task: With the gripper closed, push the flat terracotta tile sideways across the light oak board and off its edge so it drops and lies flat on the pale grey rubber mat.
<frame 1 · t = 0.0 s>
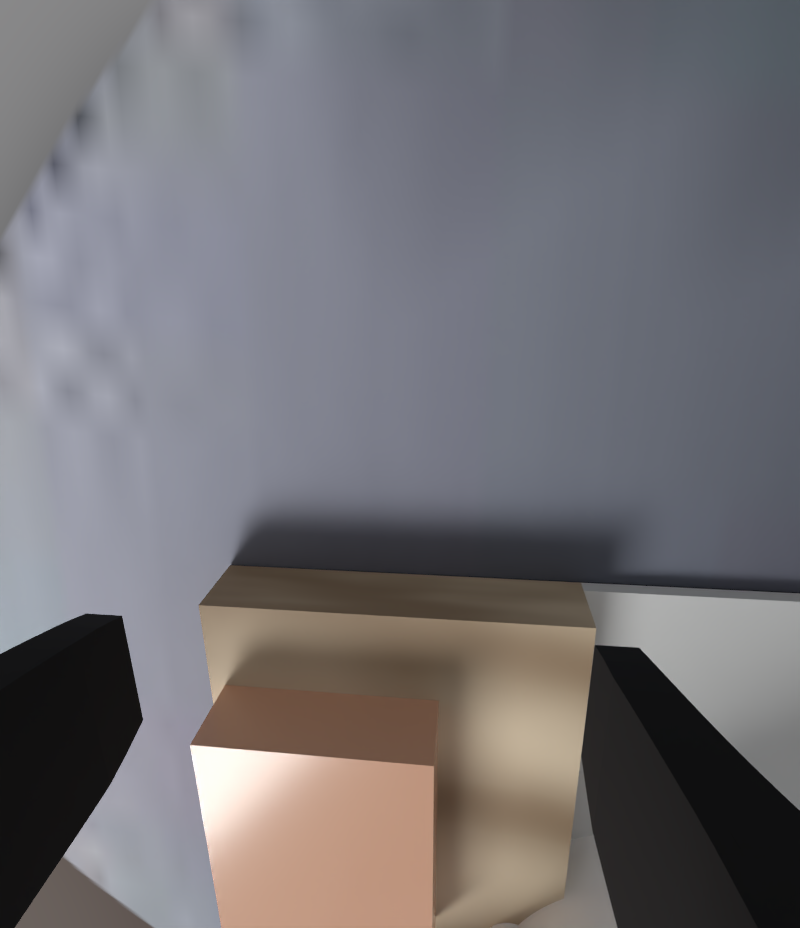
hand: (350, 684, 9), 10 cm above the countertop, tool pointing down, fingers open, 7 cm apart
mat: (796, 789, 21), on the countertop
board: (401, 755, 22), on the countertop
tile: (337, 808, 20), point 2 cm above the countertop, touching board
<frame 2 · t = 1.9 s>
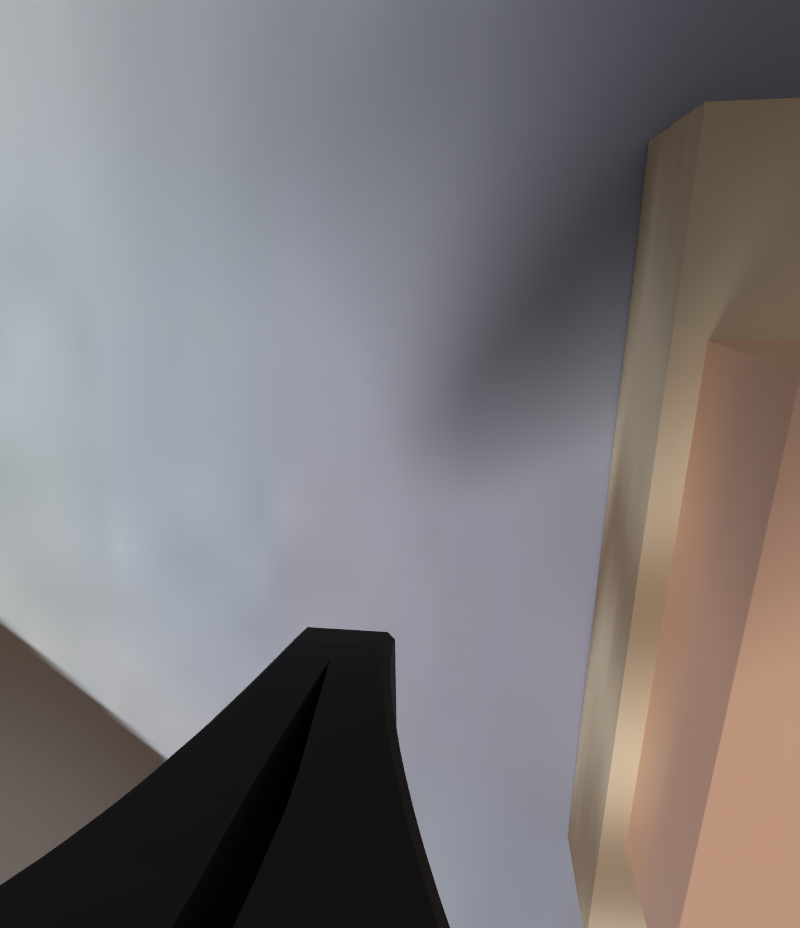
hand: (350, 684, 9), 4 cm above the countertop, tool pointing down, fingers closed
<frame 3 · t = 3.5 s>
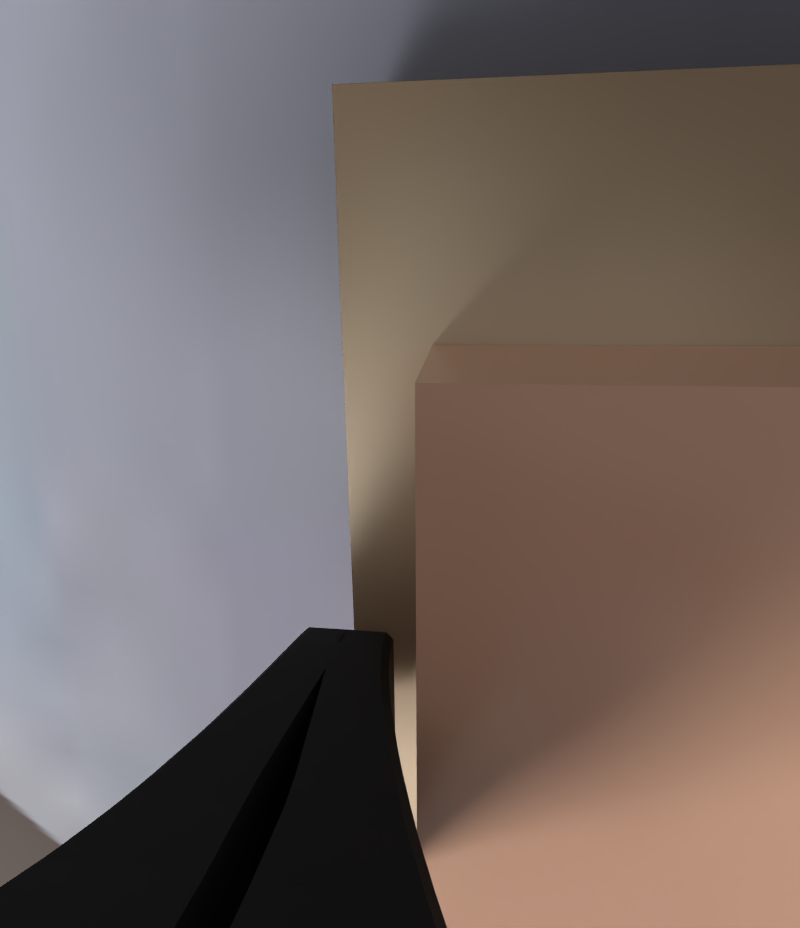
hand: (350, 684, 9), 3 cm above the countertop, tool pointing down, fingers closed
board: (687, 591, 11), on the countertop
tile: (658, 674, 9), point 3 cm above the countertop, touching gripper
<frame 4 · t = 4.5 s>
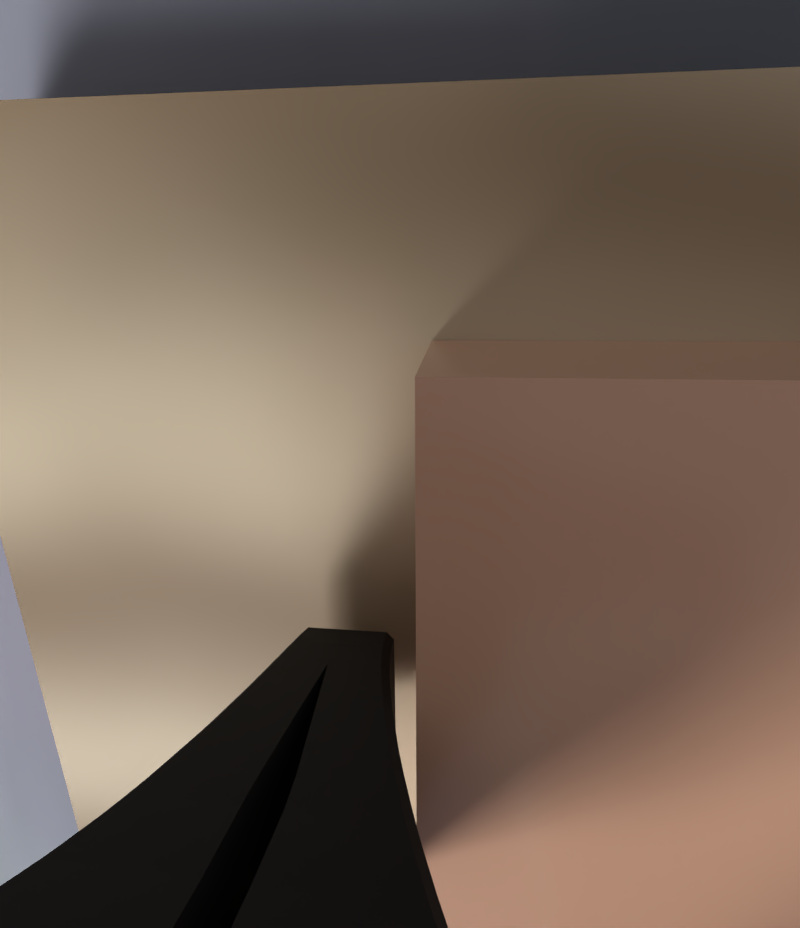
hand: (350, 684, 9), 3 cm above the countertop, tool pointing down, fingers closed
board: (385, 576, 12), on the countertop
tile: (657, 670, 9), point 2 cm above the countertop, touching board, gripper
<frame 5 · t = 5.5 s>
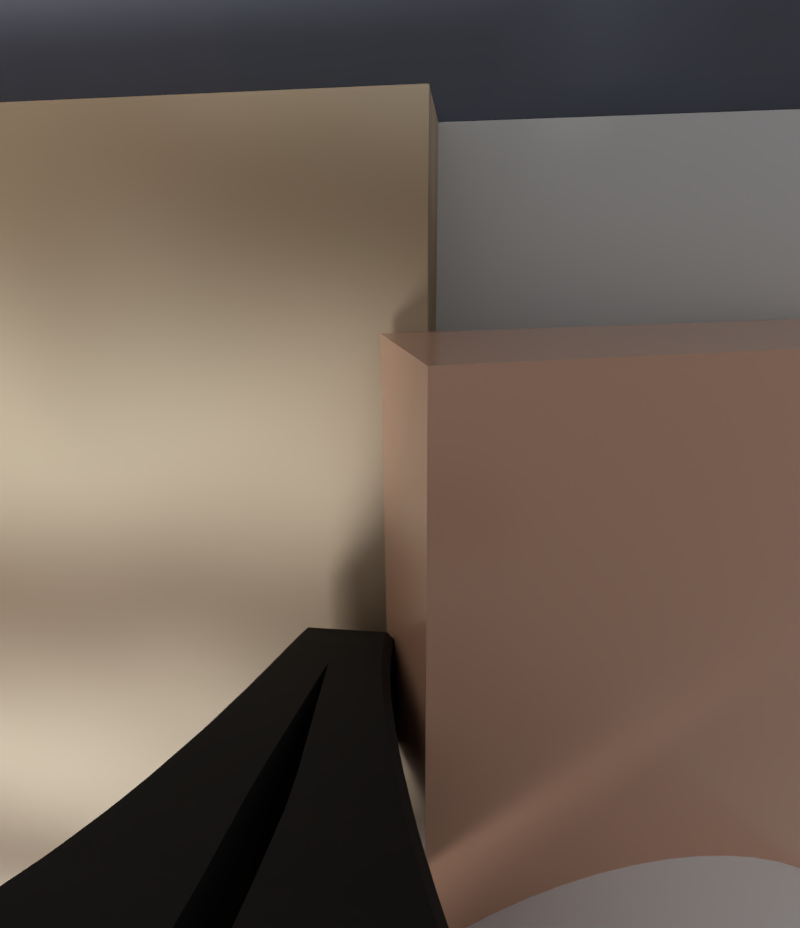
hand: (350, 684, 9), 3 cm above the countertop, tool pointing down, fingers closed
board: (153, 564, 12), on the countertop
tile: (590, 626, 10), point 2 cm above the countertop, tilted 18°, touching board, gripper, mat
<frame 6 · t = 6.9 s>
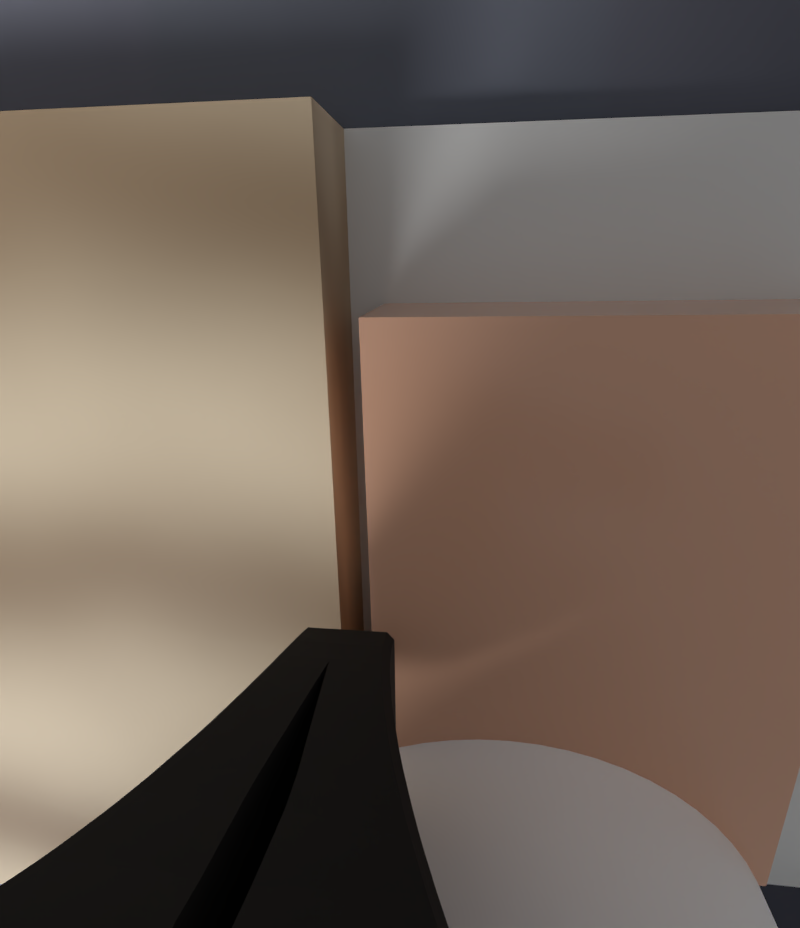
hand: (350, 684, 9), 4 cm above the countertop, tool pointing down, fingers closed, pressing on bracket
mat: (772, 573, 11), on the countertop
board: (106, 542, 13), on the countertop
tile: (566, 562, 11), resting on mat
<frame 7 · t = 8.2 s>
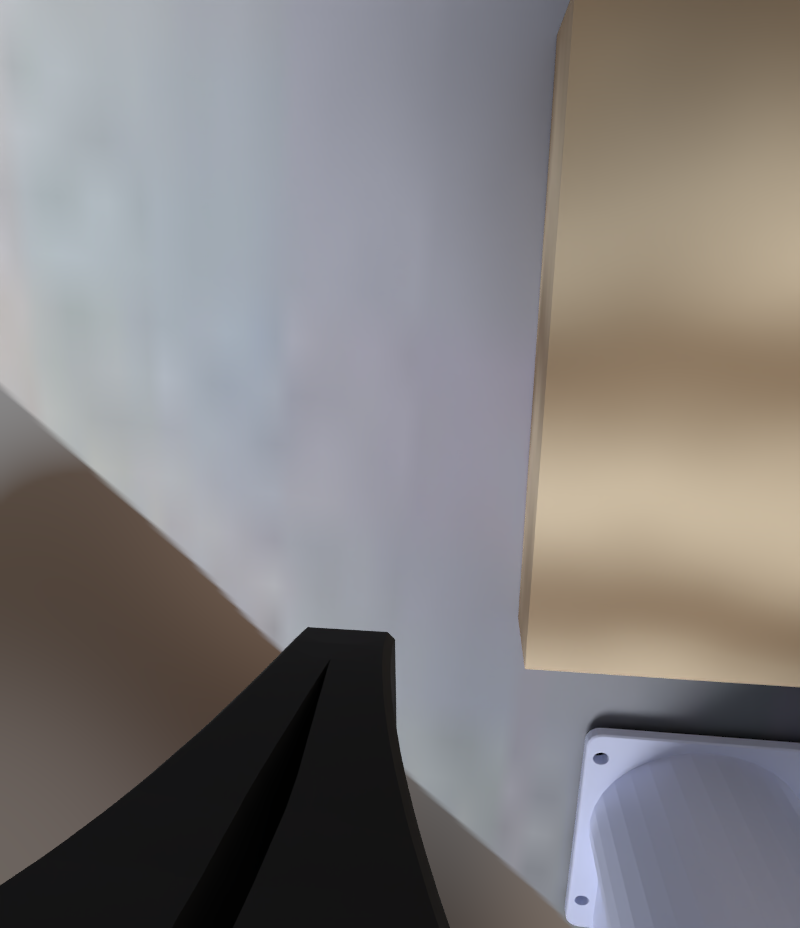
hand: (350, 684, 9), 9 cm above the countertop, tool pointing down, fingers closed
board: (762, 376, 15), on the countertop
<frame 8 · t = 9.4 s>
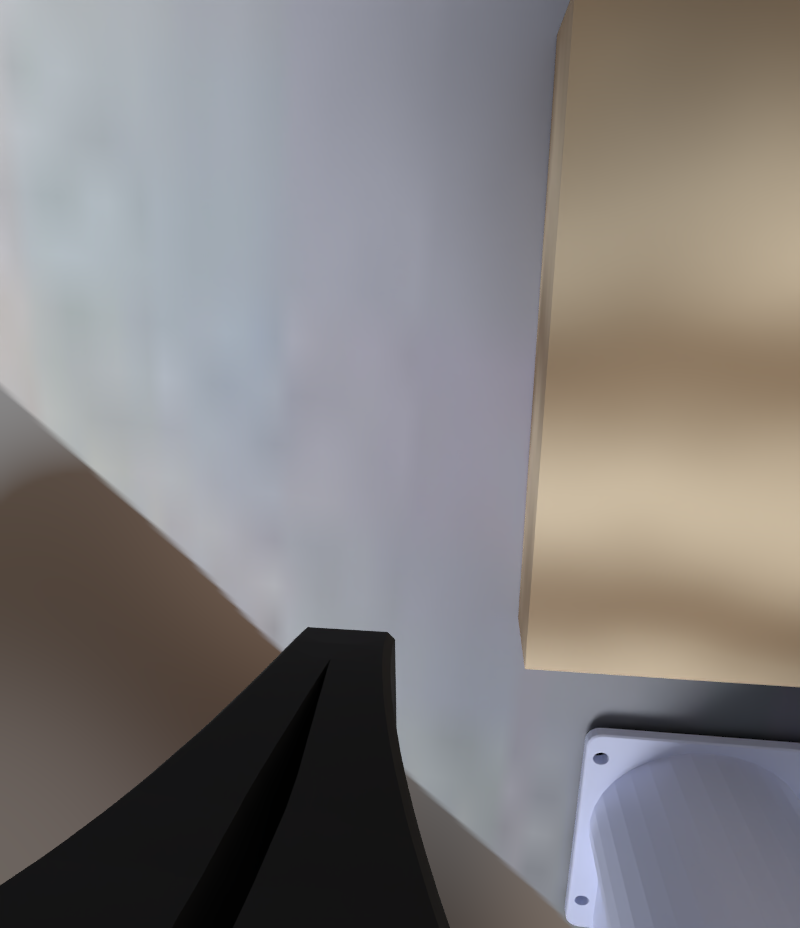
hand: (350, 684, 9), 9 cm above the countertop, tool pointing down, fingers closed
board: (762, 376, 15), on the countertop
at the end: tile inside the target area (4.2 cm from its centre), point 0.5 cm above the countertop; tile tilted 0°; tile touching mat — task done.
